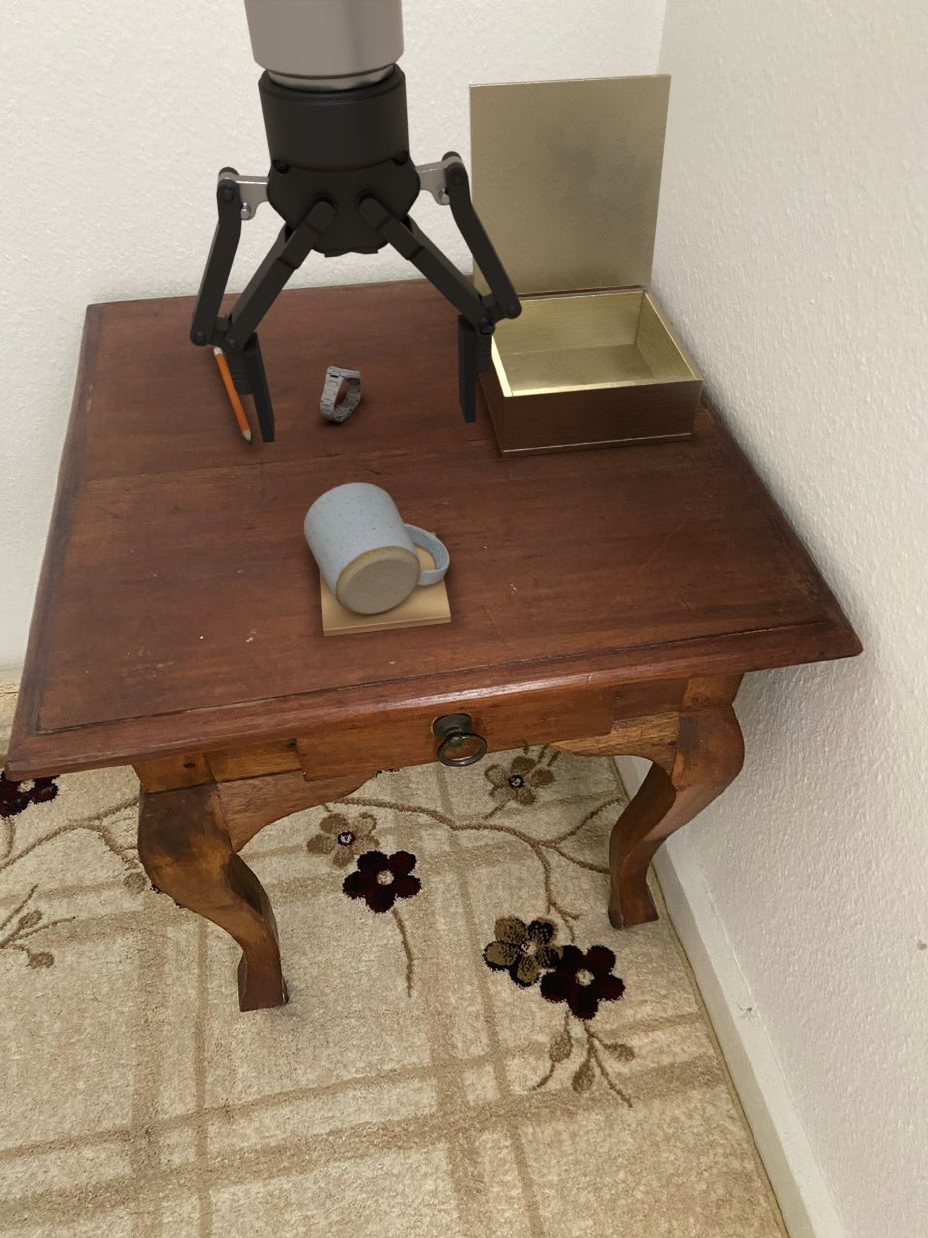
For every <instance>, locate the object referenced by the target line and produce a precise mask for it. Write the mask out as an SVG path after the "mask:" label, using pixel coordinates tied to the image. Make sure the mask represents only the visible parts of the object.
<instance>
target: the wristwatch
mask: <svg viewBox="0 0 928 1238" xmlns="http://www.w3.org/2000/svg"><path fill="white" fill-rule="evenodd" d="M361 377H362V374H361V372H360V371H358V370H356V369H353V368H347V367H342V366H335V365H330V366H329V367H328V368H326V374H325V383H324V386H323V392H322V394H321V397H320V402H319V410H320V414H321V415H322V417H323V418H325V419H326V420H327V421H334V422H336V423H342V422H344V421H345V420H347V419H349V418H350V416H351V415H352V414H353V412H354V410H355V409H356V408H357V407H358V405H359V403H360V401H361V395H362V387H363V386H362V379H361ZM344 380H345V381H346V387H347V392H346V397H345V398H344V400H343V402H342V403H341V404H336V401H337V398H338V395H339V393H340V390H341V388H342V385H343V383H344ZM335 404H336V406H335Z"/></svg>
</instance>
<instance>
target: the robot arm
mask: <svg viewBox="0 0 928 1238" xmlns="http://www.w3.org/2000/svg"><path fill="white" fill-rule="evenodd" d="M402 3H403V1H402V0H243V4H244V9H245V16H246V21H247V23H246V24H247V28H248V34H249V40H250V45H251V52H252V57H253V60H254V62H255V63H256V64H257V65H258V66H259V67H261V68H262V69H263V70H264V71H262V74H261V75H260V78H259V79H258V81H257V86H258V93H259V99H260V105H261V112H262V117H263V125H264V130H265V137H266V142H267V149H268V155H269V163H270V165H269V171H268V173H267V176H265V175H264V176H263V175H262V176H261V175H258V176H257V175H242V174H241V175H240V173H239V172H238V170H237V169H235V168H234V167H231V166H224V167H222V168H221V169H220V170H219V172H218V174H217V183H216V194H215V196H216V207H217V217H218V219H217V223H216V226H215V230H214V233H213V237H212V240H211V243H210V248H209V251H208V254H207V260H206V263H205V266H204V270H203V273H202V278H201V281H200V283H199V288H198V292H197V295H196V296H197V297H196V299H195V302H194V307H193V309H192V310H193V311H192V314H191V322H190V329H189V339H190V342H191V343H192V344H193V345H195V346H196V347H200V348H202V347H206V346H207V345H211V346H217V347H219V348H221V350H222V352H223V353H224V354H225V357H226V361H227V366H228V370H229V372H230V375H231V378H232V382H233V387H234V389H235V391H236V392H237V394H238V396H245V395H252V399H253V402H254V407H255V412H256V416H257V420H258V425H259V430H260V434H261V439H262V443H263V444H267V443H275V442H276V441H275V440H276V439H275V436H276V435H275V434H276V433H275V432H276V431H275V430H276V429H275V428H276V427H275V425H276V424H275V423H276V421H275V420H276V419H275V413H274V410H273V403H272V399H271V394H270V389H269V385H268V380H267V375H266V370H265V369H266V368H265V364H264V359H263V356H262V355H263V354H262V350H261V346H260V345H261V344H260V340H259V336H258V335H259V334H258V332H257V331H255V330H256V329H257V327H258V326H259V325H260V323H261V322H262V320H263V318H264V317H265V315H266V314H267V313H268V311H269V309H270V308H271V307H272V305H273V303H274V302H275V301H276V299H277V298H278V296H279V295H280V293H281V292H282V290H283V289H284V287H285V286H286V284H287V283H288V281H289V280H290V278H291V277H292V276H293V274H294V272H295V271H296V270H299V269H300V268H301V267H302V265H303V263H304V262H305V260H306V259H307V257H308V256H309V255H310V253H311V251H312V250H313V251H314V252H316V253H318V254H321V255H323V256H324V259H326V258H327V259H328V258H338V257H342V256H344V255H347V254H349V253H353V254H360V255H377V254H379V250H382V249H383V248H385V247H386V246H388V245H390V246H391V247H392V248H393V249H394V250H395V251H396V252H397V253H398V254H399V255H400V256H401V257H402V258H403V259H404V260H406V261H409V262H410V263H411V264H412V265H413V266H414V267H415V268H416V269H417V270H418V271H419V272H420V274H422V275H423V276H424V277H425V279H427V280H428V281H429V283H431V285H432V286H434V287H435V288H436V289H437V290H438V291H439V292H440V293H441V295H443V296H444V297H445V299H447V300H448V302H450V304H451V305H452V306H453V307H454V308H455V309H456V310H457V311H458V312H459V314H457V347H458V348H457V349H458V351H457V352H458V353H457V354H458V401H459V402H458V403H459V405H460V409H461V413H462V418H463V422H464V424H471V423H476V422H477V374H478V373H481V372H489V370H490V367H491V365H492V335H493V333H494V332H495V329H496V327H495V324H496V323H497V322H499V321H500V320H503V319H505V318H508V319H515V318H517V317H519V316H520V314H521V313H522V306H521V303H520V301H519V298H520V297H518V294H517V293H516V291H515V288H514V286H513V284H512V282H511V280H510V278H509V276H508V274H507V272H506V270H505V268H504V266H503V264H502V262H501V260H500V258H499V256H498V254H497V252H496V250H495V248H494V246H493V244H492V242H491V240H490V238H489V236H488V234H487V232H486V230H485V228H484V226H483V224H482V222H481V220H480V218H479V216H478V214H477V212H476V210H475V208H474V206H473V204H472V203H471V186H470V180H469V175H468V172H467V169H466V166H465V164H464V161H463V159H462V156H461V154H459V153H458V152H456V151H454V150H451V151H447V152H445V153H444V154H443V155H442V158H441V160H440V161H434V162H430V163H424V164H420V165H416V164H415V162H414V161H413V160H412V157H411V150H410V134H409V133H410V132H409V113H408V96H407V78H406V74H405V72H404V71H403V69H402V68H401V67H400V65H399V64H398V63H397V62H398V61H399V60H400V58H401V57H402V56H403V55H404V52H405V38H404V20H403V4H402ZM421 191H426V192H428V193H430V194H431V196H432V198H433V199H434V201H435V202H436V204H437V205H439V206H444V207H445V206H449V208H450V212H451V215H452V217H453V221H454V222H455V225H456V227H457V228H458V231H459V232H460V235H461V236H462V238H463V240H464V242H465V243H466V246H467V248H468V249H469V251H470V253H471V255H473V257H474V259H475V261H476V263H477V265H478V267H479V268H480V270H481V272H482V274H483V276H484V278H485V280H486V282H487V284H488V286H489V287H490V289H491V291H492V293H490V294H488V295H486V296H483V295H482V294H481V293H480V292H479V291H478V290H477V289H476V288H475V287H474V286H473V282H471V281H470V280H469V279H468V278H467V277H466V275H465V274H463V273H462V272H461V270H459V268H457V267H456V265H455V264H454V263H453V262H452V261H451V260H450V259H449V258H448V257H447V255H445V254H444V253H443V251H441V249H440V248H438V246H437V245H436V244H435V243H434V242H433V241H432V240H431V238H430V237H428V235H427V234H425V232H423V230H422V229H421V228H420V226H419V225H418V223H417V222H416V220H414V218H413V217H412V216H411V215H410V214H409V212H410V211H411V209H412V207H413V206H414V204H415V202H416V201H417V199H418V197H419V195H420V193H421ZM267 202H268V203H269V206H270V207H271V208H272V209H273V210H274V211H275V213H277V214H278V216H280V218H281V219H282V220H283V221H284V223H283V225H282V227H281V229H280V230H279V232H278V234H277V236H276V239H275V241H274V243H273V244H272V246H271V248H270V249H269V250H268V252H267V253H266V255H265V256H264V258H263V260H262V261H261V263H260V265H259V266H258V267H257V269H256V271H255V272H254V274H253V275H252V277H251V279H250V280H249V281H248V283H247V285H246V286H245V288H244V289H243V291H242V292H241V294H240V296H239V297H238V299H237V300H236V302H235V304H234V305H233V306H232V308H231V310H230V311H229V313H228V314H226V313H225V314H224V317H222V316H219V312H220V308H221V306H222V302H223V300H224V299H223V298H224V295H225V292H226V288H227V285H228V281H229V278H230V275H231V271H232V268H233V264H234V261H235V257H236V255H237V251H238V247H239V244H240V240H241V235H242V225H243V224H242V222H243V221H250V220H253V219H254V218H255V216H256V214H257V209H258V207H259V205H261V204H262V203H267Z"/></svg>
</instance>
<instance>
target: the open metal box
mask: <svg viewBox="0 0 928 1238" xmlns="http://www.w3.org/2000/svg"><path fill="white" fill-rule="evenodd" d="M518 298H519V301H520V303H521V306H522V313H521V314H520V316H519V317H517V318H515V319H508V318H505V319H503V320H500V321H499V322H497V323H496V324H495V327H496V329H495V332H494V333H493V335H492V365H491V367H490V370H489V372H481V373H477V376H478V379H479V383H480V387H481V390H482V393H483V397H484V400H485V404H486V406H487V410H488V413H489V417H490V420H491V425H492V428H493V431H494V435H495V438H496V441H497V444H498V449H499V452H500V455H501V458H502V459H505V458H515V457H527V456H536V455H547V454H555V453H556V454H557V453H569V452H578V451H579V452H580V451H590V450H599V449H611V448H621V447H631V446H641V445H652V444H661V443H663V444H664V443H673V442H683V441H691V438H692V433H693V429H694V425H695V420H696V416H697V412H698V408H699V403H700V397H701V394H702V389H703V386H704V385H703V384H704V381H705V378H704V377H703V375H702V374H701V372H700V370H699V368H698V367H697V365H696V363H695V362H694V359H692V356H690V354H689V352H688V350H687V349H686V347H685V345H684V343H683V342H682V340H681V339H680V337H679V335H678V334H677V332H676V330H675V329H674V327H673V325H672V324H671V322H670V321H669V319H668V317H667V316H666V313H665V312H664V310H663V309H662V308H661V305H660V304H659V302H658V301H657V299H656V297H655V296H654V294H653V292H652V291H651V289H650V287H639V288H628V289H625V288H624V289H613V290H601V291H587V292H575V293H574V292H573V293H561V294H551V295H550V294H549V295H535V296H524V297H518Z"/></svg>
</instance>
